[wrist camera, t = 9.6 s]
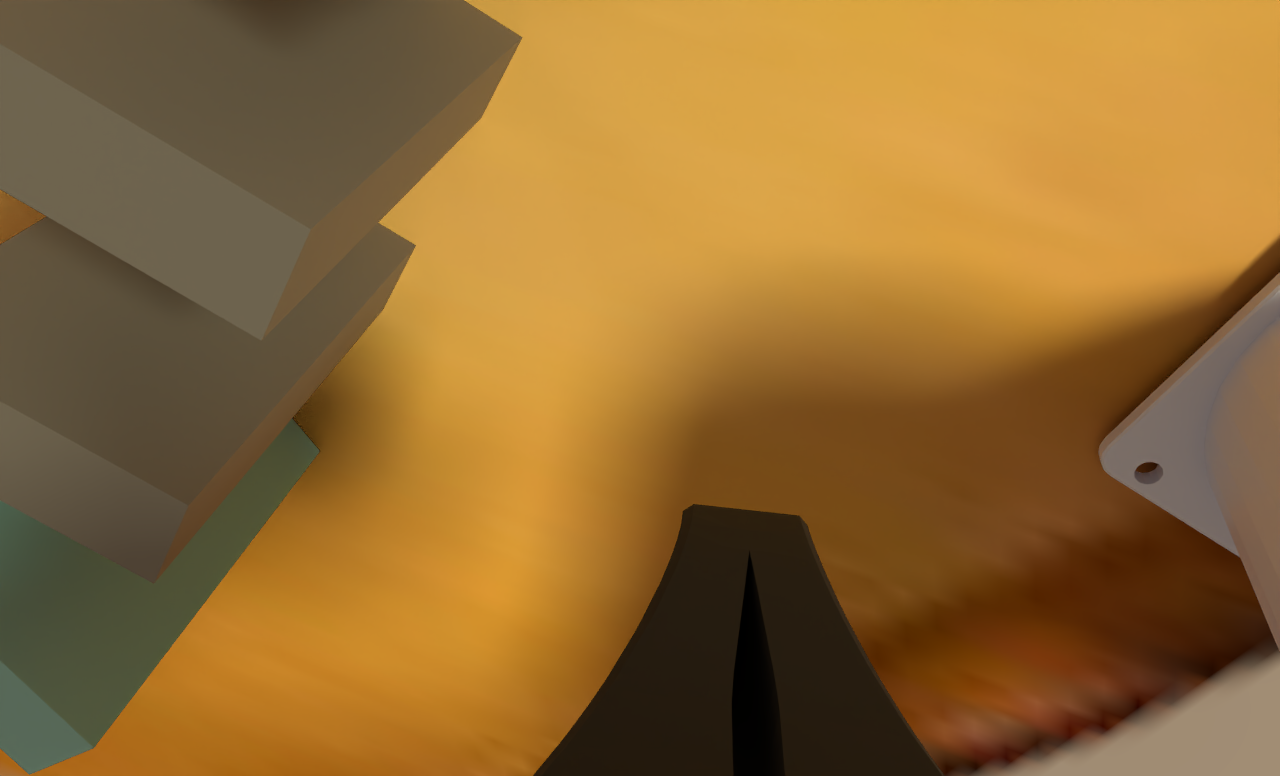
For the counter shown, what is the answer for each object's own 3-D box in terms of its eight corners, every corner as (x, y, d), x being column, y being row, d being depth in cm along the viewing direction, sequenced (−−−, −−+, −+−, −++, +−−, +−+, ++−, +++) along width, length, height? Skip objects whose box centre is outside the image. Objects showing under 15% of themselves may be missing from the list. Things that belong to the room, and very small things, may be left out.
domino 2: (206, 119, 23) (-135, 326, 15) (415, 245, 23) (188, 505, 16) (181, 190, 24) (-152, 417, 16) (382, 309, 24) (153, 583, 17)
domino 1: (288, -111, 20) (-75, -1, 12) (522, 37, 21) (310, 229, 13) (256, -22, 21) (-99, 132, 13) (480, 118, 22) (261, 340, 14)
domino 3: (181, 287, 25) (-127, 541, 17) (319, 450, 27) (93, 747, 19) (129, 321, 26) (-188, 579, 18) (267, 478, 27) (29, 774, 20)
